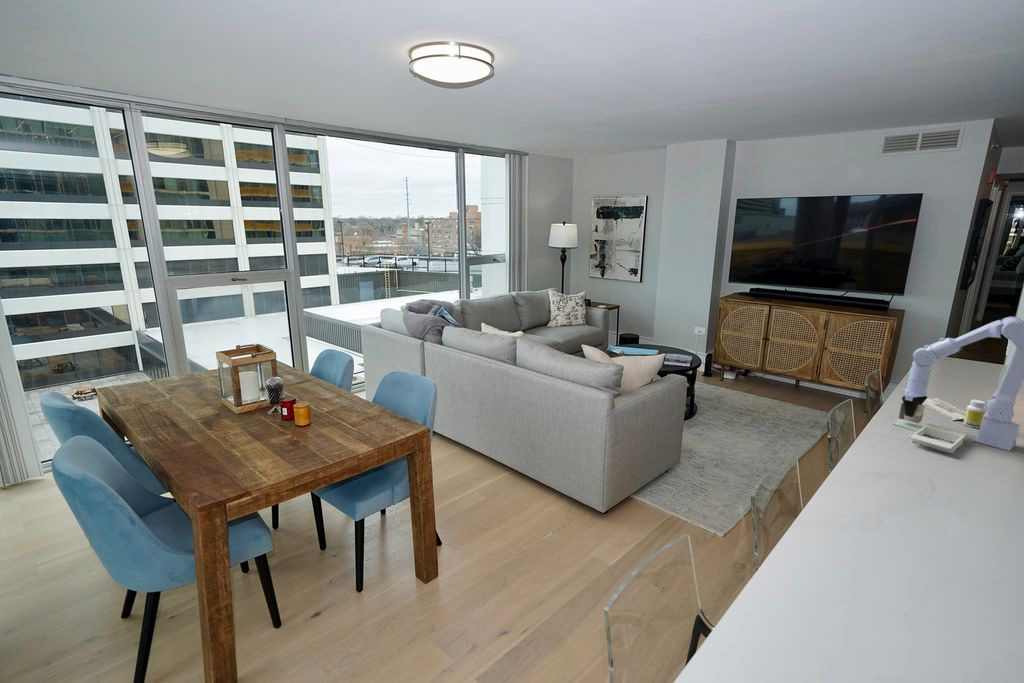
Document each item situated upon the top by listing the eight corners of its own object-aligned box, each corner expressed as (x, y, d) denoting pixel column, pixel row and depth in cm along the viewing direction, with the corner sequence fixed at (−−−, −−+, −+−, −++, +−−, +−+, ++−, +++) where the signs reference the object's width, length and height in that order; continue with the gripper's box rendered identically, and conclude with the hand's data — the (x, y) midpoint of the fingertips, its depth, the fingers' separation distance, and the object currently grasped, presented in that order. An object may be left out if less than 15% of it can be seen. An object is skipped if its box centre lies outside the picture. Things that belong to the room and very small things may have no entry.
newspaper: (986, 423, 193) (987, 417, 193) (952, 425, 195) (953, 419, 194) (942, 401, 215) (943, 396, 215) (912, 403, 216) (912, 398, 216)
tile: (925, 427, 188) (925, 425, 188) (918, 431, 184) (919, 430, 184) (899, 420, 194) (899, 419, 194) (892, 424, 190) (893, 423, 190)
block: (921, 420, 187) (924, 405, 186) (918, 423, 185) (921, 408, 184) (902, 415, 192) (905, 401, 190) (898, 418, 190) (901, 403, 188)
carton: (965, 441, 176) (967, 433, 175) (948, 456, 165) (950, 448, 164) (926, 430, 185) (928, 423, 184) (907, 445, 173) (909, 437, 173)
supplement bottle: (985, 429, 186) (991, 404, 184) (968, 427, 188) (974, 403, 185) (975, 423, 192) (981, 399, 189) (959, 422, 193) (964, 398, 190)
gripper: (912, 374, 192) (905, 407, 195) (898, 381, 184) (891, 415, 187) (935, 378, 186) (927, 412, 190) (921, 386, 178) (914, 421, 181)
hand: (911, 414), depth 188 cm, fingers closed on block, 4 cm apart
